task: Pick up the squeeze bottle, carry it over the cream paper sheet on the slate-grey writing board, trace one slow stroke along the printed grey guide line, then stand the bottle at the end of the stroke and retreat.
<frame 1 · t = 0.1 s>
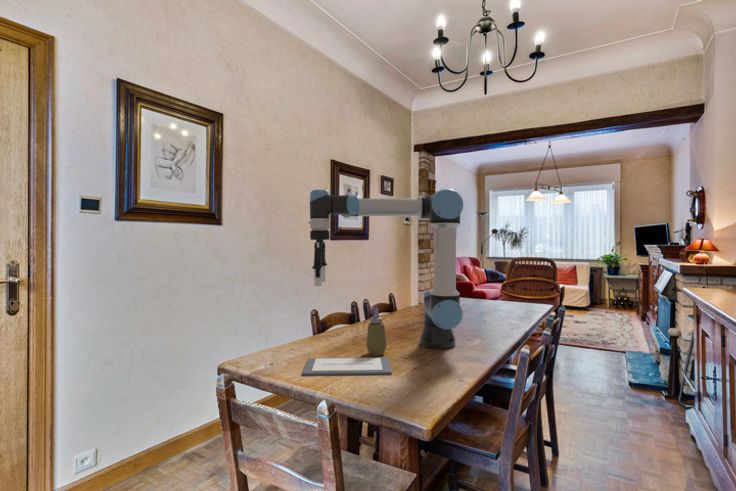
hand: (320, 284, 151), 28 cm above the table, fingers open, 13 cm apart
writing board: (347, 367, 137), on the table
squeeze bottle: (376, 354, 153), on the table
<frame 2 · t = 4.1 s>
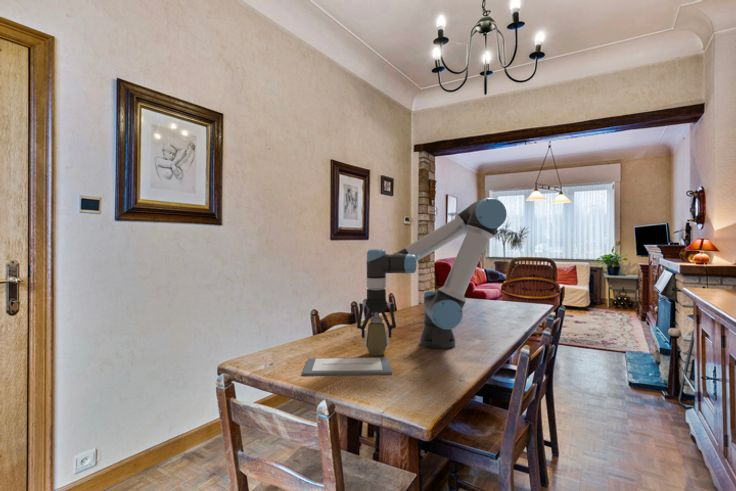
hand: (376, 345, 152), 3 cm above the table, fingers closed on squeeze bottle, 8 cm apart
squeeze bottle: (376, 354, 153), on the table, touching gripper
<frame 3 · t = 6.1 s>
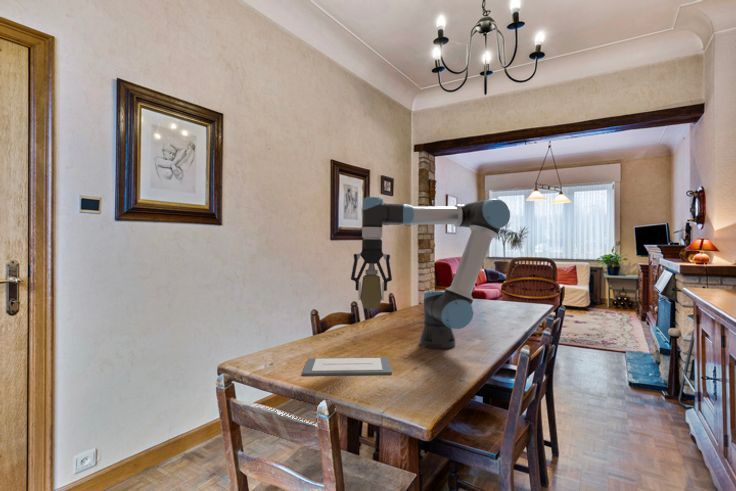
hand: (371, 299, 144), 23 cm above the table, fingers closed on squeeze bottle, 8 cm apart
squeeze bottle: (370, 308, 145), point 19 cm above the table, touching gripper
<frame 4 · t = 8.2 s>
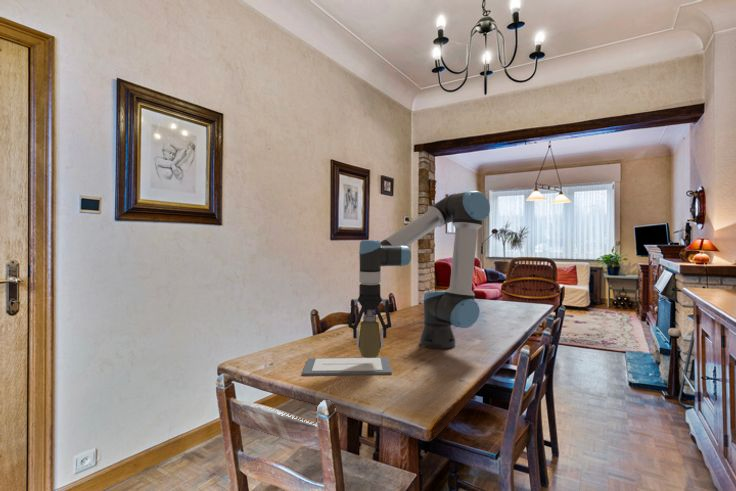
hand: (369, 347, 137), 7 cm above the table, fingers closed on squeeze bottle, 8 cm apart
squeeze bottle: (369, 356, 137), point 4 cm above the table, touching gripper
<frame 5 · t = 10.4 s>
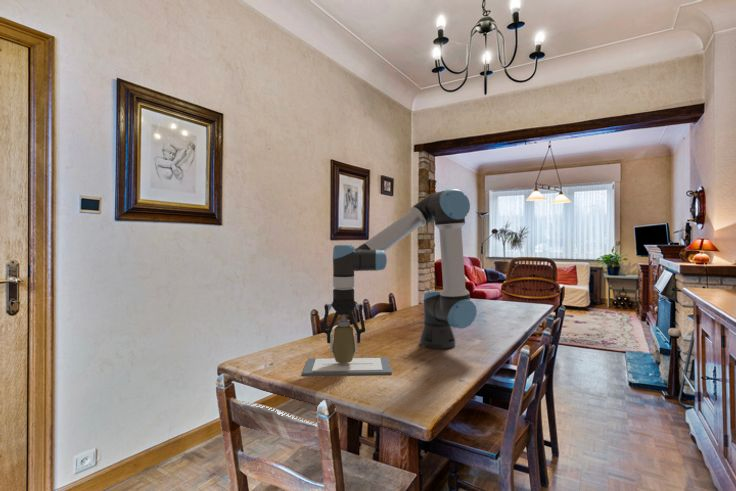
hand: (343, 352, 137), 5 cm above the table, fingers closed on squeeze bottle, 8 cm apart
squeeze bottle: (343, 361, 137), point 2 cm above the table, touching gripper
when the fingers open (5 cm above the table, at t = 12.5 s): squeeze bottle stays where it is, resting on writing board.
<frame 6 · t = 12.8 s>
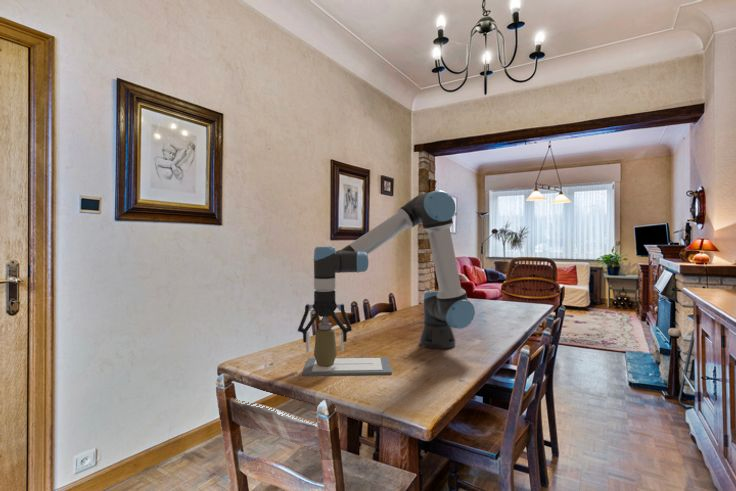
hand: (325, 351, 137), 6 cm above the table, fingers open, 11 cm apart
squeeze bottle: (325, 364, 137), point 1 cm above the table, touching writing board
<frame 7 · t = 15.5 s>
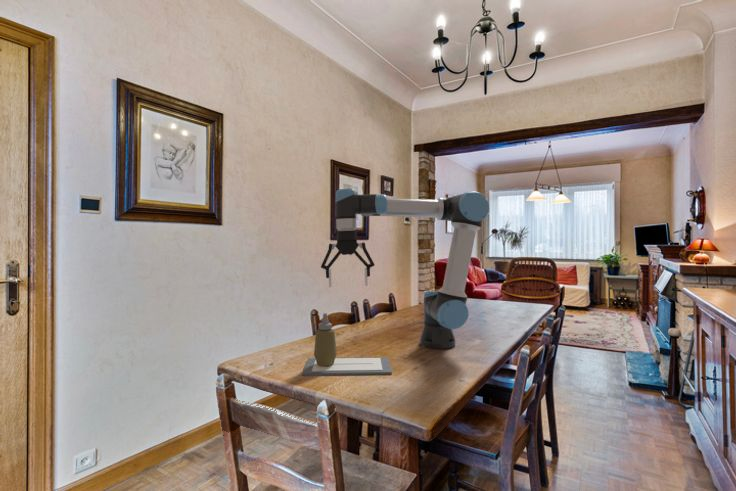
hand: (348, 286, 147), 28 cm above the table, fingers open, 13 cm apart
nothing on the table moved.
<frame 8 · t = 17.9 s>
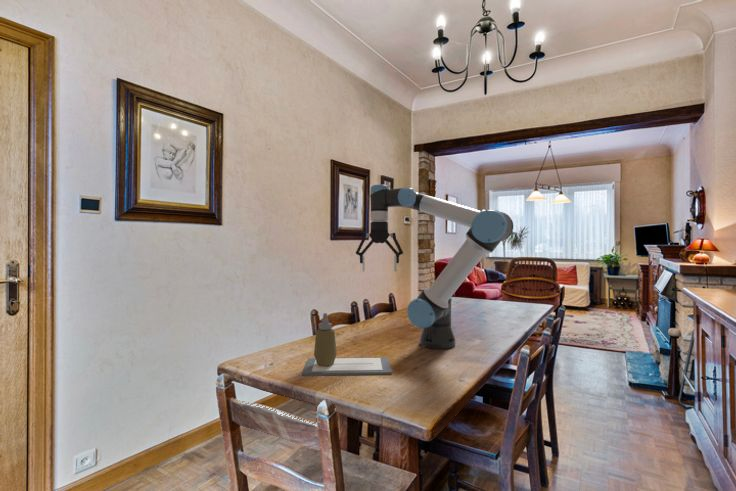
hand: (379, 271, 165), 32 cm above the table, fingers open, 13 cm apart
nothing on the table moved.
at the end: squeeze bottle inside the target area on the writing board (0.1 cm from its centre), point 0.9 cm above the writing board's base; squeeze bottle tilted 0°; the gripper is holding nothing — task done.
